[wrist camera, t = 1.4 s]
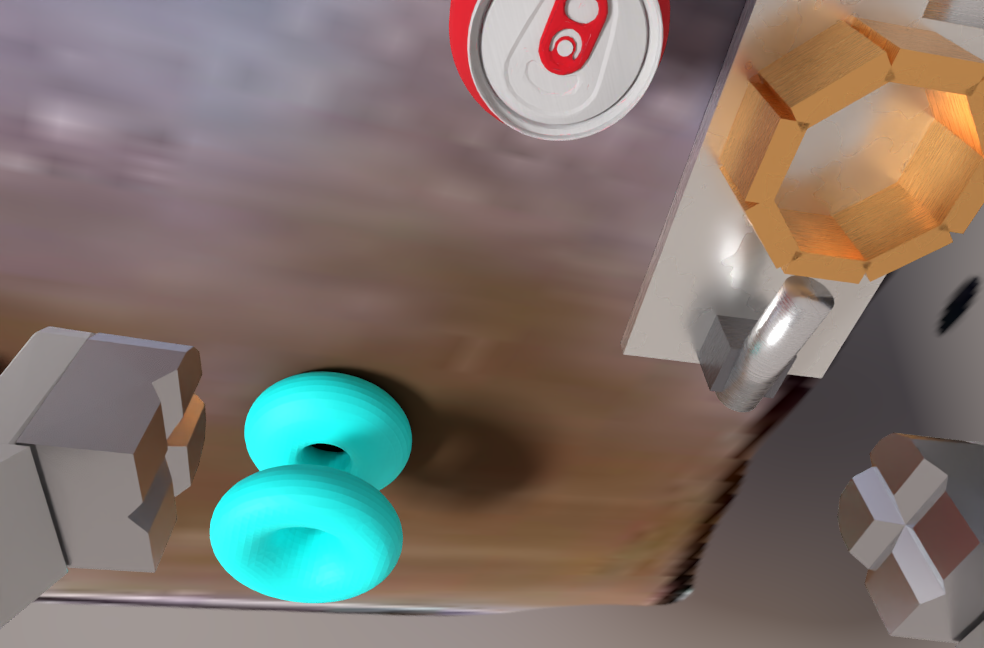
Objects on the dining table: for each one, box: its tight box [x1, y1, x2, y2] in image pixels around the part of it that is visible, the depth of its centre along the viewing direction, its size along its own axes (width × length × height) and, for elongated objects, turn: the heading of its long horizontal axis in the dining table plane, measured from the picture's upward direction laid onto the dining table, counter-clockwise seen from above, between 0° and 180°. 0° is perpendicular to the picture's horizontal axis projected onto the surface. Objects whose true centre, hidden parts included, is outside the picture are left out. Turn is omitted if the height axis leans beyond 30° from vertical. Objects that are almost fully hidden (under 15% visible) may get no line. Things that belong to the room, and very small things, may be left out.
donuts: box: [210, 371, 412, 603], centre depth 41 cm, size 10×10×10 cm
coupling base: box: [621, 0, 984, 412], centre depth 31 cm, size 28×12×6 cm, turn 170°
